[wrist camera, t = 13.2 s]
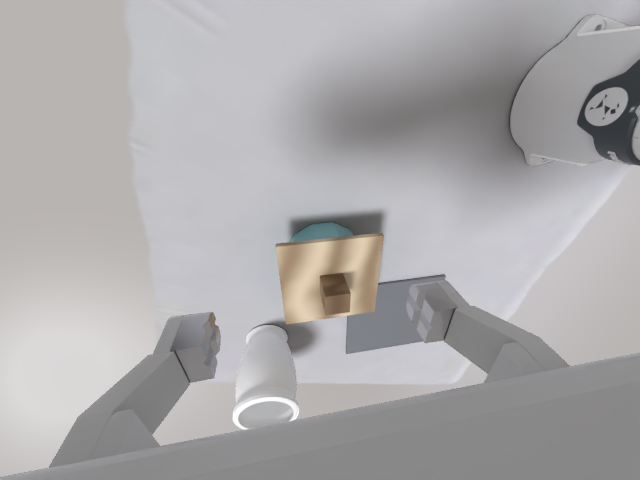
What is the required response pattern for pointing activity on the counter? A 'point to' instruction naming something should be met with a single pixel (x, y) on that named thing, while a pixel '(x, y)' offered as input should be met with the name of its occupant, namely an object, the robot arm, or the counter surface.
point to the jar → (265, 380)
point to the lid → (329, 276)
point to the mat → (386, 318)
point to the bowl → (321, 232)
